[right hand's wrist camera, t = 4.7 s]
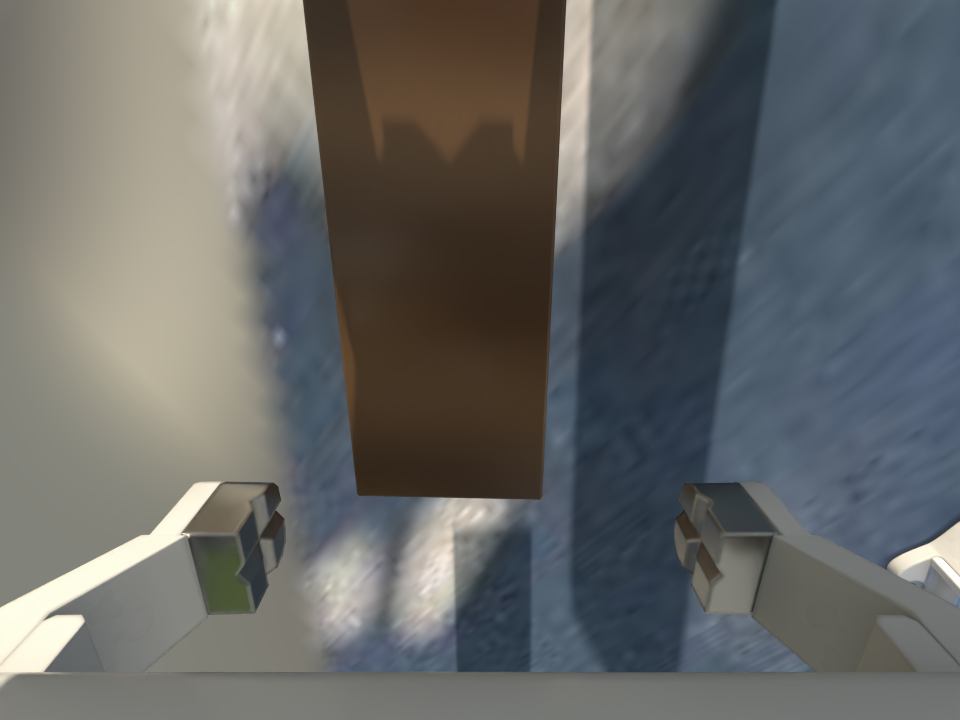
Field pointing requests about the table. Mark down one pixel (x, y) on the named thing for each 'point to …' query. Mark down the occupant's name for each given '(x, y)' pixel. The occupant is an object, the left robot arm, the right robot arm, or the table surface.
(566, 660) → the table surface
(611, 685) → the right robot arm
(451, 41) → the box
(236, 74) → the table surface
